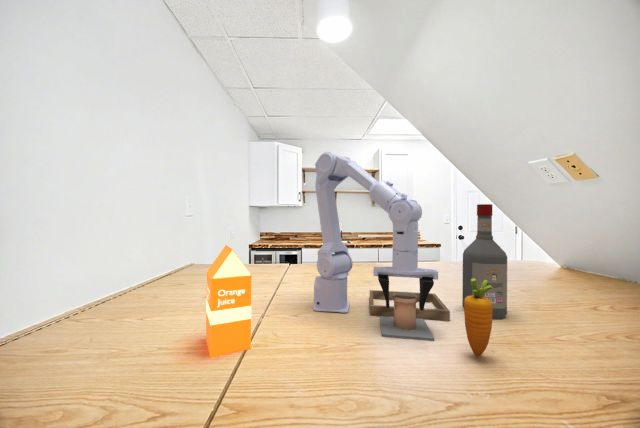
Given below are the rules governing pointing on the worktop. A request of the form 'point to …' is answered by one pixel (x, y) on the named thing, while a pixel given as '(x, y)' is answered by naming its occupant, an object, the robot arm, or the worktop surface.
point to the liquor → (486, 264)
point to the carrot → (478, 318)
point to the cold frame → (429, 314)
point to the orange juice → (228, 305)
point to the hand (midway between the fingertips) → (404, 307)
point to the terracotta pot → (405, 310)
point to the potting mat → (392, 331)
